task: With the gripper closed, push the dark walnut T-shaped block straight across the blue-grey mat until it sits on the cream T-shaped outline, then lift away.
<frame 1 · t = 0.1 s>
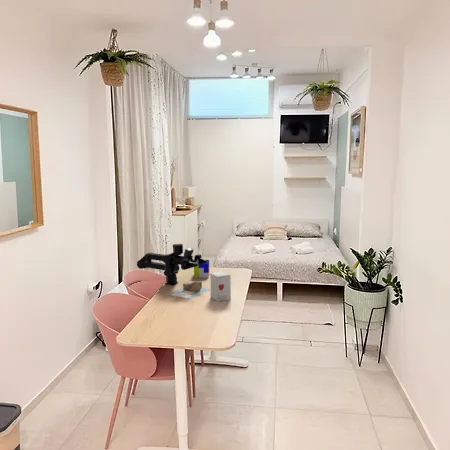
hand: (202, 263, 268), 17 cm above the table, tool horizontal, fingers open, 9 cm apart
puzzle toy: (201, 275, 302), on the table
tee: (194, 289, 270), resting on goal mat
supplement box: (220, 299, 252), on the table
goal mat: (188, 292, 265), on the table
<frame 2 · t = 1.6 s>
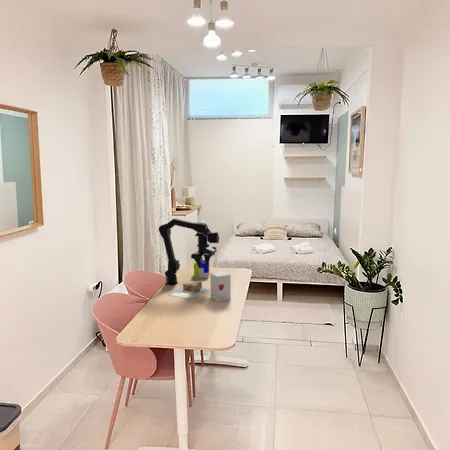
hand: (203, 266, 277), 12 cm above the table, tool pointing down, fingers open, 8 cm apart
nothing on the table moved.
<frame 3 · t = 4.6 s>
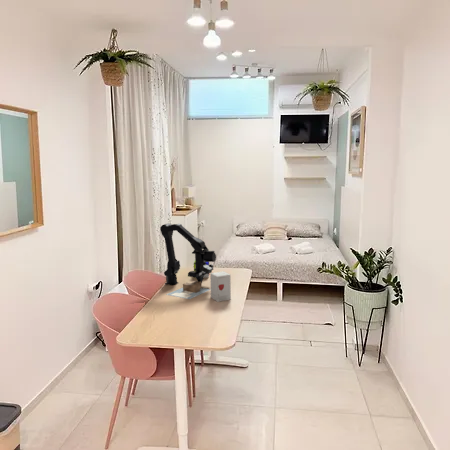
hand: (200, 284, 275), 2 cm above the table, tool pointing down, fingers closed
tee: (194, 289, 270), resting on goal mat, touching gripper
everything else where it was.
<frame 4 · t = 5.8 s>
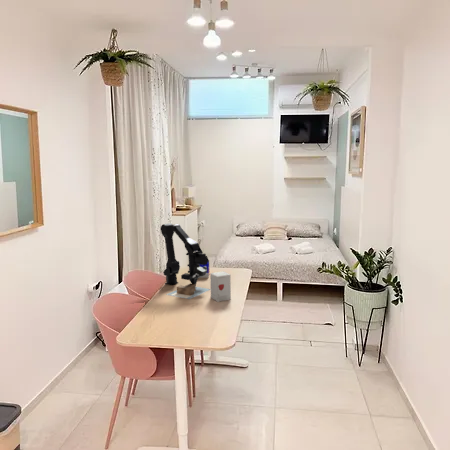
hand: (194, 287, 270), 2 cm above the table, tool pointing down, fingers closed
tee: (188, 292, 264), resting on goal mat, touching gripper
everything else where it was.
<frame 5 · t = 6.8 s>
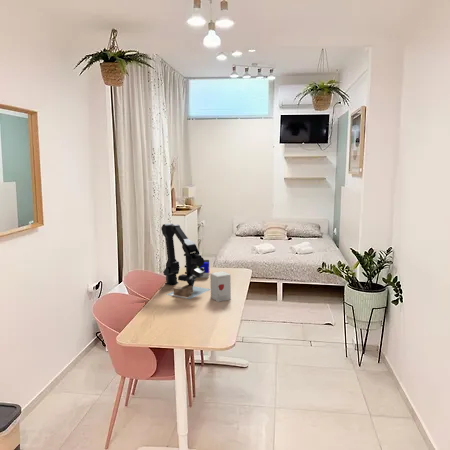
hand: (191, 288, 267), 2 cm above the table, tool pointing down, fingers closed
tee: (185, 293, 262), resting on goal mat, touching gripper
everything else where it was.
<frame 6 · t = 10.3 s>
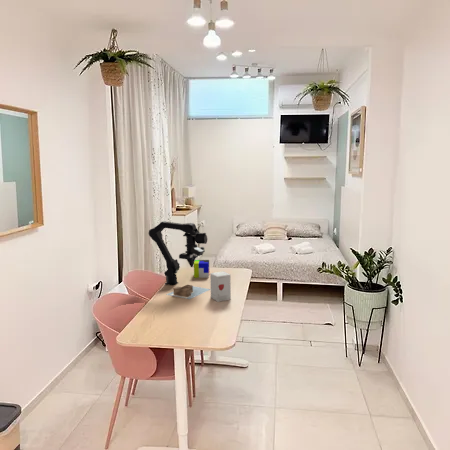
hand: (191, 267, 278), 12 cm above the table, tool pointing down, fingers closed
tee: (185, 293, 262), resting on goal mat
everything else where it was.
at the end: tee 0.3 cm from the target spot, resting on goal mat; tee tilted 0° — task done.
